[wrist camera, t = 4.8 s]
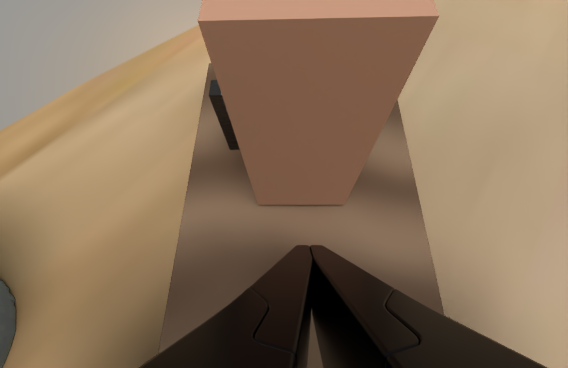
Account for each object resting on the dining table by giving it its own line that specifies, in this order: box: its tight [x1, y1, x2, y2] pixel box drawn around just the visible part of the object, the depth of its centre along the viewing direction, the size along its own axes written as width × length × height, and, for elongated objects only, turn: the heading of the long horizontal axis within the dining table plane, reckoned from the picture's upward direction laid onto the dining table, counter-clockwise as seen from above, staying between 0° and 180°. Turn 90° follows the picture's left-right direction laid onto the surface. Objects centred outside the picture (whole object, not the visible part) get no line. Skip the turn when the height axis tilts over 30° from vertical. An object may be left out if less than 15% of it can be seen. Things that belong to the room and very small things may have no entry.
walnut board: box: [158, 63, 444, 368], centre depth 17 cm, size 20×14×1 cm
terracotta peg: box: [198, 0, 439, 205], centre depth 12 cm, size 6×5×11 cm
